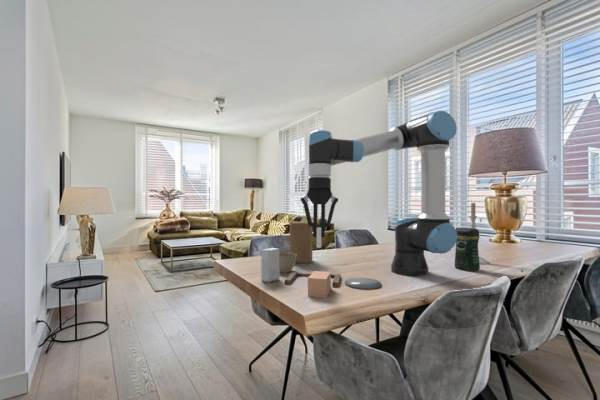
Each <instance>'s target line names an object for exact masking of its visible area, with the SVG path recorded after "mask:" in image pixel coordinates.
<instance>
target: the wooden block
mask: <svg viewBox="0 0 600 400" xmlns="http://www.w3.org/2000/svg"><path fill="white" fill-rule="evenodd" d="M289 253H294V254H297V258H296V262H295V264H302V263H308V264H310V263H311V262H312V261H311V260H313V227H312V226H309V225H308V222H307V221H296V220H295V221H293V222H290V223H289Z"/></svg>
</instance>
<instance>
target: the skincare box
mask: <svg viewBox="0 0 600 400" xmlns="http://www.w3.org/2000/svg"><path fill="white" fill-rule="evenodd" d="M260 252H261V254H260V255H261V259H260V260H261V262H260V263H261V269H260V270H261V271H260V272H261V273H260V274H261V275H260V276H261V277H260V279H261V281H262V282H266V283H270V282H273V281H277V280H279V279H280V271H279V253H280V248H276V247H269V248H268V247H267V248H264V249H261V250H260Z"/></svg>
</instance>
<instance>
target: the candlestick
mask: <svg viewBox="0 0 600 400" xmlns="http://www.w3.org/2000/svg"><path fill="white" fill-rule="evenodd" d="M469 218H470V222H471V223H470V228H473V229H477V225H476V220H477V218H478V216H476V202H475V203H474V202H471V203H470V215H469ZM479 263H480V265H487V264H489V260H487V259H486V258H483V257H480V256H479Z"/></svg>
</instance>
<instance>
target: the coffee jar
mask: <svg viewBox="0 0 600 400" xmlns="http://www.w3.org/2000/svg"><path fill="white" fill-rule="evenodd" d="M455 229H456V232H457V240H456V243H455V254H454V255H455V256H454V268H456V269H458V270H462V271H468V272H469V271H472V272H476V271H479V270H480V269H481V267H480V266H481V264H480V263H479V257H480V256H479V240H480V232H479V230H478V229H477V228H476V229H473V228H471V227H456V228H455Z"/></svg>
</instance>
